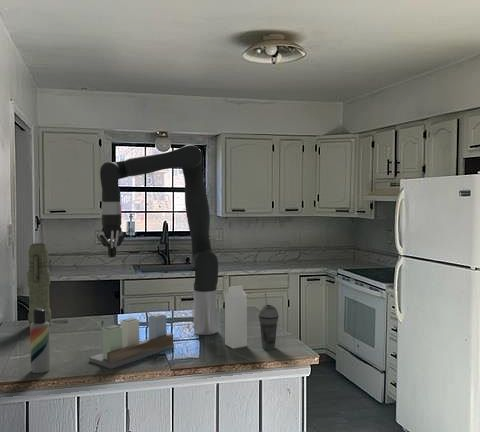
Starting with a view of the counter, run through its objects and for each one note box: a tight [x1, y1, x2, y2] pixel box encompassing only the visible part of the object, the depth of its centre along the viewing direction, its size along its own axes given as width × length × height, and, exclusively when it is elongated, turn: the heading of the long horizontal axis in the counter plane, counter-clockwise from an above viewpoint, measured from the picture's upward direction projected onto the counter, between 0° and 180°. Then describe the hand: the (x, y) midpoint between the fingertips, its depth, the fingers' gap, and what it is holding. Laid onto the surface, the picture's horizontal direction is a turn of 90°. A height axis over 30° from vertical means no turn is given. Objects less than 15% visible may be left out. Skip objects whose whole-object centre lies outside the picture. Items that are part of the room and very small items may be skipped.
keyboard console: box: [88, 332, 175, 370], centre depth 177 cm, size 12×28×5 cm, turn 142°
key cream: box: [119, 317, 140, 348], centre depth 178 cm, size 4×5×10 cm
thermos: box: [27, 242, 52, 329], centre depth 214 cm, size 9×12×35 cm
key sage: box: [101, 324, 122, 360], centre depth 168 cm, size 4×5×10 cm
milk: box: [224, 285, 248, 349], centre depth 187 cm, size 6×6×22 cm
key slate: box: [148, 313, 168, 340], centre depth 184 cm, size 4×5×10 cm
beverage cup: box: [258, 292, 279, 350], centre depth 184 cm, size 7×7×20 cm
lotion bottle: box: [29, 308, 51, 374], centre depth 161 cm, size 6×6×20 cm
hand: (112, 257), depth 200 cm, fingers closed
